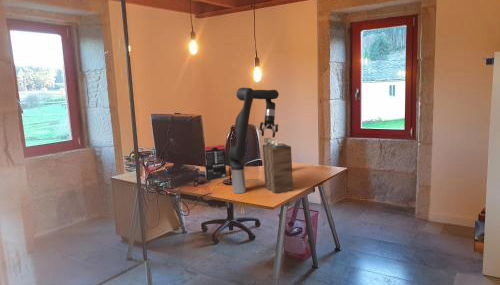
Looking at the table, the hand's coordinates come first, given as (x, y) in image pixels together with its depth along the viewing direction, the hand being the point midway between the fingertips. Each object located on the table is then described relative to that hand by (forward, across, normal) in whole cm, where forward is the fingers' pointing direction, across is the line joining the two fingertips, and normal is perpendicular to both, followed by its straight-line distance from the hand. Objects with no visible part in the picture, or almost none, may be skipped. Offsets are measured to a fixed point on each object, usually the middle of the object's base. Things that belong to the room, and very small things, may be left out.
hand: (268, 136), depth 292 cm
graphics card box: (+35, -27, +41) cm, 60 cm away
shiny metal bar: (+7, -1, -14) cm, 16 cm away
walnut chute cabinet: (+38, +7, -13) cm, 41 cm away
